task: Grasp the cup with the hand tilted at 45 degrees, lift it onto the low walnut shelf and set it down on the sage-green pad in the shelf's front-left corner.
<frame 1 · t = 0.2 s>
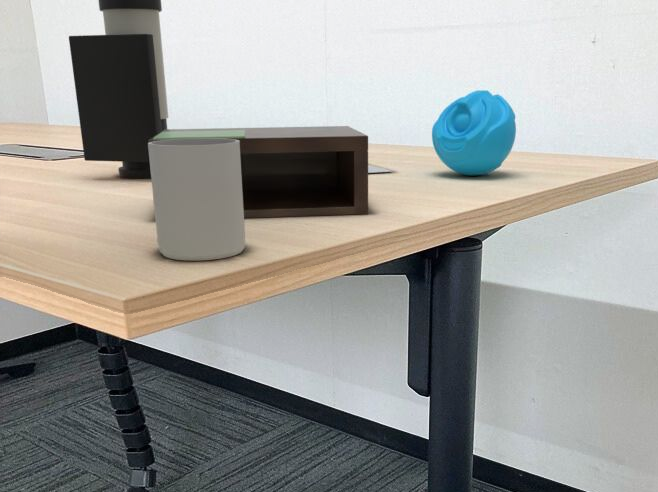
shelf: (262, 205, 85), on the table
paper stack: (295, 168, 119), on the table
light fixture: (143, 177, 111), on the table
blue rounded piece: (473, 176, 108), on the table
cup: (197, 250, 64), on the table
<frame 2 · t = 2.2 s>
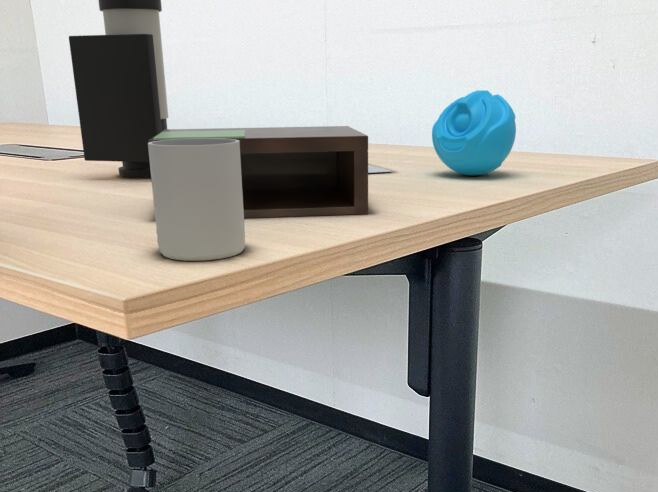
nothing on the table moved.
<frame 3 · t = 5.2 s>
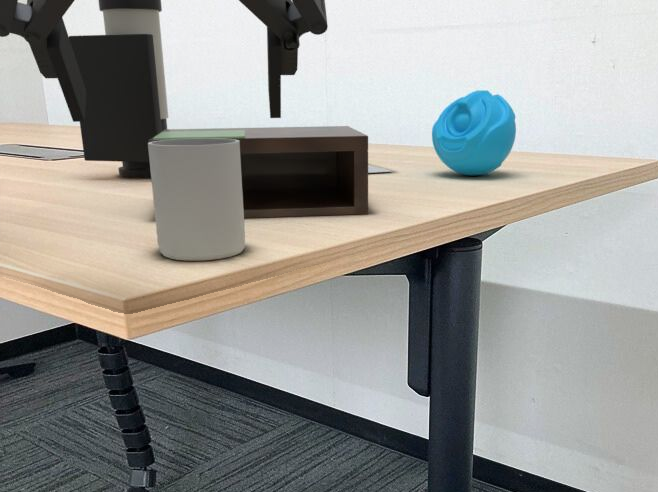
hand: (178, 105, 53), 12 cm above the table, tool tilted 45°, fingers open, 13 cm apart
nothing on the table moved.
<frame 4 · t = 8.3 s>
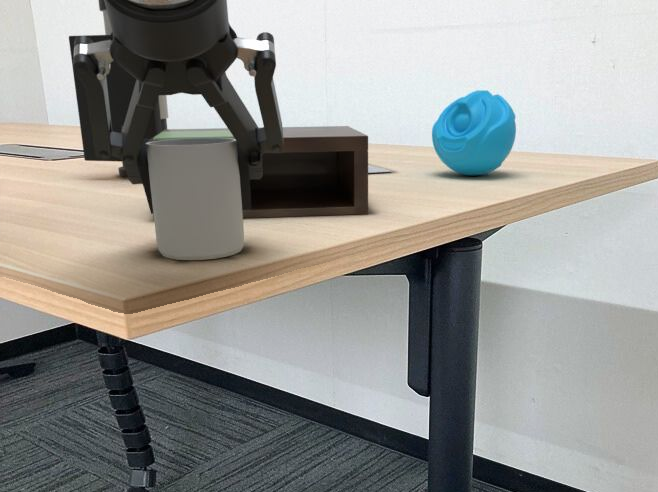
hand: (201, 198, 66), 4 cm above the table, tool tilted 45°, fingers closed on cup, 7 cm apart
cup: (197, 250, 64), on the table, touching gripper
everything else where it was.
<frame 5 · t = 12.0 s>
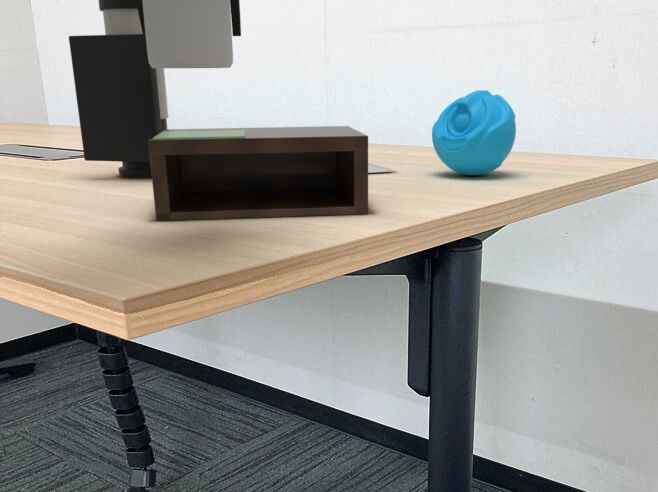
hand: (192, 25, 68), 18 cm above the table, tool tilted 45°, fingers closed on cup, 7 cm apart
cup: (187, 70, 66), point 14 cm above the table, touching gripper
everything else where it was.
when the fingers open (12 cm above the table, at t = 15.9 s): cup stays where it is, resting on shelf.
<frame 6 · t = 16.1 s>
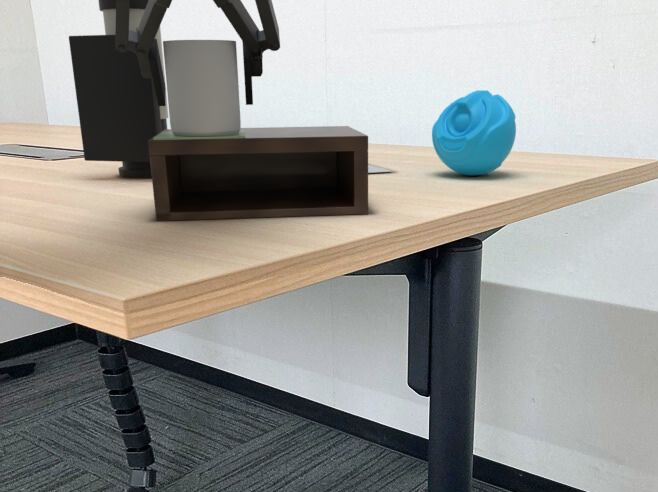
hand: (205, 95, 81), 12 cm above the table, tool tilted 45°, fingers open, 9 cm apart
cup: (202, 135, 79), point 8 cm above the table, touching shelf
everything else where it was.
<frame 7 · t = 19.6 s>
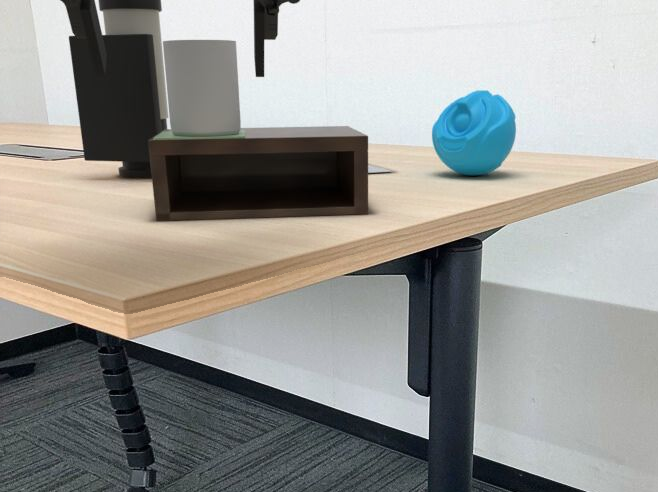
hand: (181, 66, 66), 15 cm above the table, tool tilted 40°, fingers open, 13 cm apart
nothing on the table moved.
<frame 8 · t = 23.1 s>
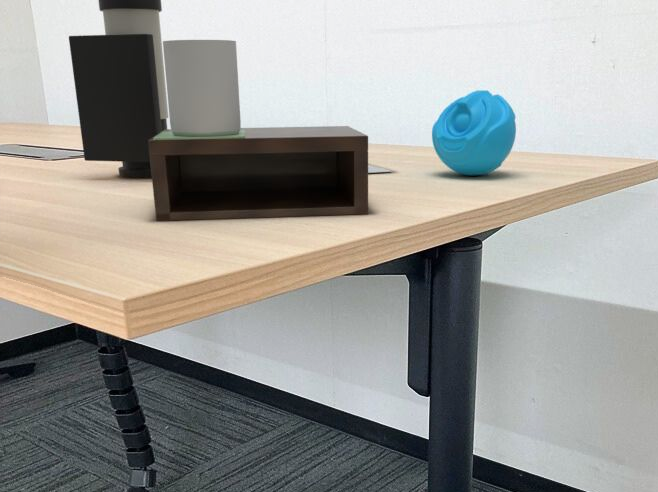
nothing on the table moved.
at the end: cup inside the target area on the shelf (0.4 cm from its centre), point 8.0 cm above the shelf's base; cup tilted 0°; the gripper is holding nothing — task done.
